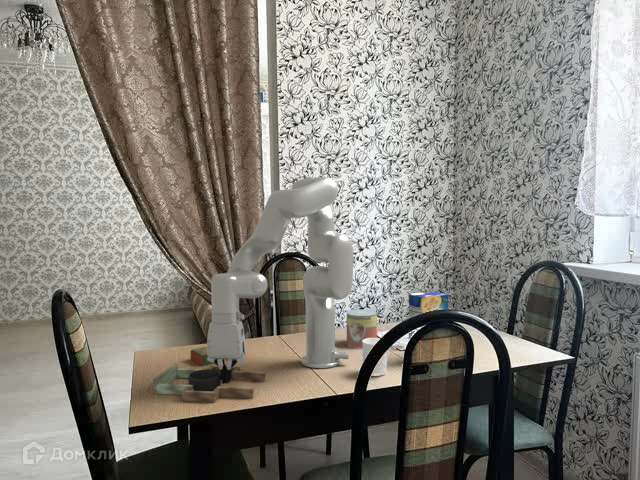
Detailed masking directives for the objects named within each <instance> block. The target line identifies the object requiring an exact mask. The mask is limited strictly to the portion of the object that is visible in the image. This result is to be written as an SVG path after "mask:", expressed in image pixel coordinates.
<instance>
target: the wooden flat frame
mask: <svg viewBox="0 0 640 480" xmlns="http://www.w3.org/2000/svg"><path fill="white" fill-rule="evenodd" d="M226 367H227V365H226ZM203 369H204V368H203ZM203 369H199V368H182V367H181V368H179V363H173V364H172V365H171V366H169V367H167V368H166V369H165V370H164V371H162V372H161V373H159V374H158V375H156V377H154V378H153V379H152V384H153V385H152V390H153V392H152V393H153V394H161V395H176V396H178V395H179V396H181V401H182V402H197V403H198V402H199V403H216V402H217V401H218V400H219V399H220V398H234V399H254V398H255V395H254V394H255V392H254V391H255V390H254V387H241V386H237V387H236V386H221V385H220V386H217V388H216V389H214V390H212V391H211V390H210V391H194V390H193V385H189V384H178V383H172V382H174V380H176V379H188V377H189V375H190V374H191V373H192V372H194V371H197V370H203ZM207 369H212V370H216V371H218V372H219V373H220V369H219V367H218V366H217V365H211V366H209V367H208V368H207ZM266 375H267V374H266V371H249V370H247V371H243V370H242V371H241V367H240V366H235V365H234V366H233V367H232V380H231V381H241V382H258V383H259V382H260V383H261V382H263V383H265V382H266V381H267V378H266V377H267V376H266Z"/></svg>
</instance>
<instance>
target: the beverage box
mask: <svg viewBox="0 0 640 480" xmlns="http://www.w3.org/2000/svg"><path fill="white" fill-rule="evenodd" d="M442 309H448V310H449V294H447V293H443V292H439V291H427V292H416V293H408V319H409V318H411V317H414V316H416V315H419V314H422V313H425V312H429V311H433V310H442ZM414 332H415V331H413V332H411V333H409V332H408V339H409V338H410V337H411V336H412V334H413V333H414Z"/></svg>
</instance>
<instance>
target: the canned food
mask: <svg viewBox="0 0 640 480" xmlns="http://www.w3.org/2000/svg"><path fill="white" fill-rule="evenodd" d="M345 313H346V346H347V347H349V348H352V347H353V348H352V349H358V348H363V347H362V340H364V339H367V338H378V336H377V335H378V334H377V333H378V331H377V330H378V329H377V328H378V318H377V317H378V316H377V315H378V312H377V311H376V310H372V309H364V308H363V309H359V308H358V309H351V310H348V311H346V312H345Z"/></svg>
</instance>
